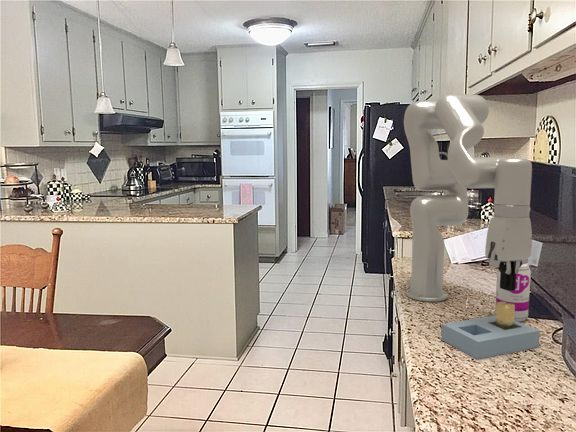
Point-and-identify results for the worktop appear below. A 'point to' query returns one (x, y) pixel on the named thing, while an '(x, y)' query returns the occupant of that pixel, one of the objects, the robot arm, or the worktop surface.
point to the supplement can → (517, 293)
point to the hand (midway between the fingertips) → (507, 289)
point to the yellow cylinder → (505, 315)
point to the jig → (489, 337)
